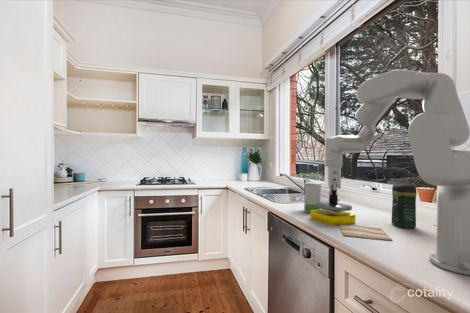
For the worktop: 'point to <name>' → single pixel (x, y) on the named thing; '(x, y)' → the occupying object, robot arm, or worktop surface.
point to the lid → (333, 206)
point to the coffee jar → (404, 205)
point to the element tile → (333, 217)
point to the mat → (364, 232)
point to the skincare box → (311, 196)
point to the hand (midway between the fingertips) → (333, 202)
